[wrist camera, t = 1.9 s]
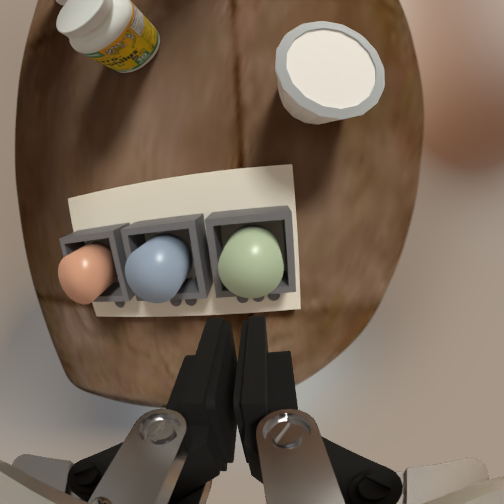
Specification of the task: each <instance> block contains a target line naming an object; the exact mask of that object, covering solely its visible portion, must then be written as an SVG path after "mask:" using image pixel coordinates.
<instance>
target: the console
mask: <svg viewBox="0 0 504 504" xmlns="http://www.w3.org/2000/svg"><path fill="white" fill-rule="evenodd" d="M68 203H69V209H70V215H71V221H72V226H73V231H74V232H73V233H71V234H69V235H67V236H64V237H62V238H60V239H59V240H60V244H61V248H62V253H63V257H65V256H67V255H69V254H70V253H72V252H74V251H76V250H78V249H80V248H81V247H83V246H85V245H87V244H89V243H91V242H101V243H103V244H105V245H107V246H108V247H109V248H110V249H111V250H112V255H113V259H114V263H115V268H116V272H117V276H118V277H117V279H116V280H115V282H114V283H113V284H112V285H110V286H109V287H108V288H107V289H106V290H105V291H104V292H103V293H102V294H100V295H99V296H98V297H97V298H96V299H95V300H94V301H93V302H92V304H93V307H94V310H95V313H96V316H102V317H165V316H200V315H222V314H240V313H255V312H269V311H281V310H293V309H300V279H299V256H298V237H297V221H296V206H295V192H294V179H293V167H292V164H288V165H274V166H262V167H251V168H241V169H232V170H223V171H215V172H207V173H199V174H192V175H185V176H178V177H172V178H166V179H160V180H154V181H148V182H142V183H137V184H132V185H127V186H121V187H117V188H112V189H107V190H102V191H98V192H93V193H89V194H85V195H80V196H76V197H72V198H68ZM246 225H259V226H262V227H265V228H267V229H268V230H270V231H271V232H272V233H273V234H274V235H275V237H276V238H277V240H278V242H279V245H280V250H281V255H282V259H283V265H284V271H283V276H282V279H281V281H280V283H279V285H278V286H277V287H276V288H275V289H274V290H273V291H272V292H270V293H269V294H267V295H265V296H262V297H259V298H244V297H240V296H238V295H235V294H234V293H232V292H231V291H229V290H228V289H227V288H226V287H225V285H224V284H223V283H222V281H221V279H220V276H219V272H218V263H219V258H220V256H221V253H222V251H223V249H224V247H225V244H226V242H227V240H228V238H229V237H230V235H231V234H232V233H233V232H234V231H235V230H237V229H238V228H240V227H242V226H246ZM163 233H168V234H173V235H176V236H178V237H179V238H181V239H182V240H183V241H184V242H185V243H186V244H187V245H188V247H189V248H190V251H191V253H192V258H193V264H192V268H191V271H190V273H189V274H188V276H187V278H186V279H185V281H184V282H183V284H182V285H181V287H180V289H179V290H178V292H177V293H176V295H175V296H174V297H173V298H172V299H170V300H169V301H166V302H163V303H151V302H147V301H145V300H143V299H141V298H140V297H138V296H137V295H136V294H135V293H134V292H133V291H132V289H131V288H130V286H129V285H128V283H127V280H126V276H125V265H126V261H127V259H128V257H129V256H130V254H131V253H132V252H133V251H135V250H136V249H138V248H139V247H140V246H142V245H143V244H144V243H146V242H147V241H148V240H150V239H151V238H153V237H154V236H156V235H158V234H163Z"/></svg>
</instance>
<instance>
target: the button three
mask: <svg viewBox="0 0 504 504" xmlns="http://www.w3.org/2000/svg"><path fill="white" fill-rule="evenodd" d="M283 271H284V265H283V259H282V255H281V250H280V245H279V242H278V240H277V238H276V237H275V235H274V234H273V233H272V232H271V231H270V230H268V229H267V228H265V227H262V226H259V225H246V226H242V227H240V228H238V229H237V230H235V231H234V232H233V233H232V234H231V235H230V237H229V238H228V240H227V242H226V244H225V247H224V249H223V251H222V253H221V256H220V258H219V263H218V272H219V276H220V279H221V281H222V283H223V284H224V285H225V287H226V288H227V289H228V290H229V291H231V292H232V293H234V294H235V295H238V296H240V297H244V298H259V297H262V296H265V295H267V294H269V293H270V292H272V291H273V290H274V289H275V288H276V287H277V286H278V285H279V283H280V281H281V279H282V276H283Z"/></svg>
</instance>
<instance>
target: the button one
mask: <svg viewBox="0 0 504 504" xmlns="http://www.w3.org/2000/svg"><path fill="white" fill-rule="evenodd" d="M58 277H59V281H60V284H61V286H62V288H63V290H64V292H65V293H66V294H67V295H68V296H69V297H70V298H71V299H72V300H73V301H75V302H77V303H80V304H89V303H91V302H93V301H94V300H95V299H96V298H97V297H98V296H99V295H100V294H102V293H103V292H104V291H105V290H106V289H107V288H108V287H109V286H110V285H112V284H113V283H114V282H115V280H116V279H117V277H118V276H117V272H116V268H115V263H114V259H113V255H112V250H111V249H110V248H109V247H108V246H107V245H105V244H103V243H101V242H91V243H89V244H87V245H85V246H83V247H81V248H80V249H78V250H76V251H74V252H72V253H70V254H69V255H67V256H65V257H64V258H63V259H62V260H61V262H60V264H59V267H58Z"/></svg>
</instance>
